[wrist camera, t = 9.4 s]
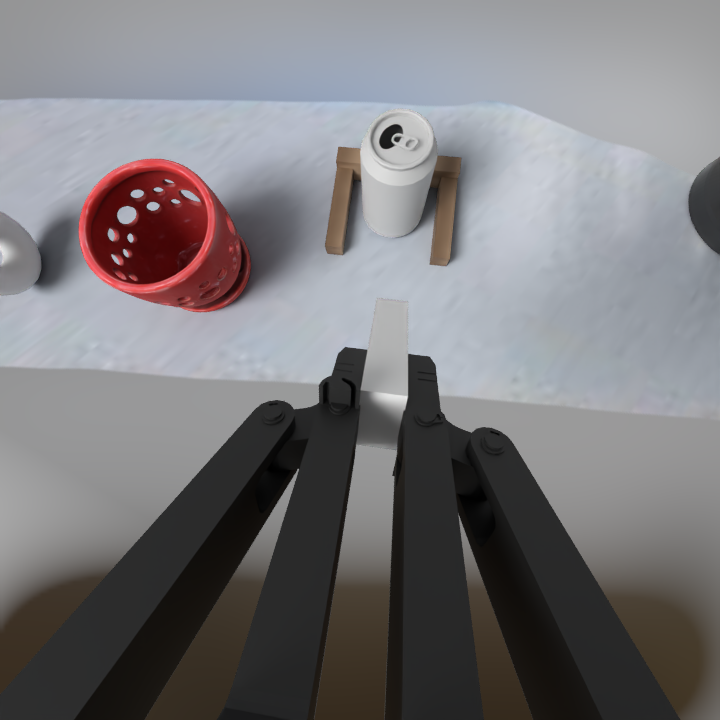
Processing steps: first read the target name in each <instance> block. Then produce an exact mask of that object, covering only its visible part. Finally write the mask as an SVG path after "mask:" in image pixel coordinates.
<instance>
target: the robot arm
mask: <svg viewBox="0 0 720 720" xmlns="http://www.w3.org/2000/svg"><path fill="white" fill-rule="evenodd" d="M689 211H690V215H691V219H692V222H693V224H694V226H695V228H696V230H697V232H698V233H699V235H700V236H701V238H702V239H703V240H704V241H705V242H706V243H707V244H708V245H709V246H710V247H711V248H712V249H713V250H714V251H716V252H717V253H718V254H720V157H719V158H718V159H716V160H715V161H713V162H712V163H710V164H709V165H708V166H707V167H705V168H704V169H703V170H702V171H701V172H700V173H699V175H698V176H697V177H696V179H695V181H694V183H693V185H692V187H691V190H690V195H689ZM356 445H363V446H370V447H378V448H385V449H392V450H396V449H397V457H396V462H395V466H394V471H393V476H395V478H394V502H393V503H394V504H393V526H392V551H391V575H390V600H389V623H388V647H387V671H386V695H385V720H484V717H483V709H482V701H481V694H480V687H479V686H480V685H479V678H478V669H477V662H476V653H475V645H474V637H473V630H472V621H471V613H470V606H469V597H468V589H467V581H466V573H465V565H464V557H463V549H462V541H461V533H460V525H459V517H458V514H459V516H460V519H461V522H462V524H463V527H464V530H465V533H466V536H467V538H468V541H469V544H470V546H471V549H472V552H473V555H474V557H475V560H476V563H477V566H478V569H479V571H480V574H481V577H482V580H483V583H484V585H485V588H486V591H487V594H488V596H489V599H490V602H491V605H492V607H493V610H494V613H495V616H496V618H497V621H498V624H499V627H500V629H501V632H502V635H503V638H504V640H505V643H506V646H507V649H508V651H509V654H510V657H511V660H512V663H513V665H514V668H515V671H516V673H517V676H518V679H519V682H520V684H521V687H522V690H523V693H524V696H525V698H526V701H527V704H528V707H529V709H530V712H531V715H532V718H533V720H680V718H679V717H678V715H677V714H676V712H675V710H674V709H673V707H672V705H671V704H670V702H669V700H668V699H667V697H666V695H665V694H664V692H663V690H662V689H661V687H660V685H659V684H658V682H657V681H656V679H655V677H654V676H653V674H652V672H651V671H650V669H649V667H648V666H647V664H646V662H645V661H644V659H643V657H642V656H641V654H640V652H639V651H638V649H637V648H636V646H635V644H634V643H633V641H632V639H631V638H630V636H629V634H628V633H627V631H626V629H625V628H624V626H623V624H622V623H621V621H620V619H619V618H618V616H617V614H616V613H615V611H614V610H613V608H612V606H611V604H610V603H609V601H608V600H607V598H606V596H605V595H604V593H603V591H602V590H601V588H600V586H599V585H598V583H597V581H596V580H595V578H594V576H593V575H592V573H591V571H590V570H589V568H588V567H587V565H586V563H585V562H584V560H583V558H582V556H581V555H580V553H579V552H578V550H577V548H576V547H575V545H574V543H573V542H572V540H571V538H570V537H569V535H568V533H567V532H566V530H565V528H564V527H563V525H562V523H561V522H560V520H559V519H558V517H557V515H556V513H555V512H554V510H553V509H552V507H551V505H550V504H549V502H548V500H547V499H546V497H545V495H544V494H543V492H542V490H541V489H540V487H539V486H538V484H537V482H536V480H535V479H534V477H533V476H532V474H531V472H530V470H529V469H528V467H527V466H526V464H525V462H524V461H523V459H522V457H521V456H520V454H519V452H518V451H517V449H516V448H515V446H514V444H513V443H512V441H511V440H510V439H509V438H508V437H507V436H506V435H505V434H503V433H502V432H500V431H498V430H495V429H493V428H486V427H482V428H478V429H476V430H475V431H474V432H472V433H470V432H468V431H465V430H463V429H460V428H458V427H456V426H454V425H452V424H451V423H450V422H448V421H447V420H446V418H445V415H444V414H443V413H442V412H441V409H440V401H439V392H438V384H437V375H436V366H435V364H434V362H433V361H432V359H431V358H430V357H428V356H420V355H412V354H408V301H401V300H392V299H383V298H377V300H376V305H375V311H374V317H373V322H372V328H371V334H370V339H369V345H368V350H364V349H356V348H348V347H345V348H344V349H343V350H342V351H341V352H340V353H338V356H337V359H336V364H335V366H334V370H333V373H332V376H329V377H327V378H325V379H324V380H322V382H321V383H320V385H319V403H318V404H317V405H315V406H312V407H308V408H303V409H295V410H294V409H293V407H292V406H291V405H290V404H288V403H286V402H284V401H278V400H275V401H269V402H266V403H263V404H261V405H260V406H259V407H257V408H256V409H255V410H254V411H253V412H252V414H251V415H250V416H249V417H248V418H247V419H246V420H245V421H244V422H243V424H242V425H241V426H240V427H239V428H238V429H237V430H236V431H235V432H234V434H233V435H232V436H231V437H230V438H229V439H228V440H227V442H226V443H225V444H224V445H223V446H222V447H221V448H220V449H219V450H218V451H217V453H216V454H215V455H214V456H213V457H212V458H211V459H210V461H209V462H208V463H207V464H206V465H205V466H204V467H203V468H202V469H201V471H200V472H199V473H198V474H197V475H196V476H195V477H194V478H193V479H192V481H191V482H190V483H189V484H188V485H187V486H186V487H185V488H184V490H183V491H182V492H181V493H180V494H179V495H178V496H177V497H176V498H175V500H174V501H173V502H172V503H171V504H170V505H169V506H168V507H167V509H166V510H165V511H164V512H163V513H162V514H161V515H160V516H159V517H158V519H157V520H156V521H155V522H154V523H153V524H152V525H151V527H150V528H149V529H148V530H147V531H146V532H145V533H144V534H143V536H142V537H141V538H140V539H139V540H138V541H137V542H136V543H135V544H134V546H133V547H132V548H131V549H130V550H129V551H128V552H127V553H126V554H125V555H124V557H123V558H122V559H121V560H120V561H119V562H118V564H116V566H115V567H114V568H113V569H112V570H111V571H110V572H109V573H108V575H107V576H106V577H105V578H104V579H103V580H102V581H101V582H100V584H99V585H98V586H97V587H96V588H95V589H94V590H93V591H92V593H91V594H90V595H89V596H88V597H87V598H86V599H85V600H84V601H83V602H82V604H81V605H80V606H79V607H78V608H77V609H76V611H74V613H73V614H72V615H71V616H70V617H69V618H68V619H67V620H66V621H65V623H64V624H63V625H62V626H61V627H60V628H59V629H58V630H57V632H56V633H55V634H54V635H53V636H52V637H51V638H50V639H49V641H48V642H47V643H46V644H45V645H44V646H43V647H42V648H41V649H40V651H39V652H38V653H37V654H36V655H35V656H34V657H33V658H32V660H31V661H30V662H29V663H28V664H27V665H26V666H25V668H23V670H22V671H21V672H20V673H19V674H18V675H17V676H16V677H15V679H14V680H13V681H12V682H11V683H10V684H9V685H8V686H7V688H6V689H5V690H4V691H3V692H2V693H1V694H0V720H145V718H146V717H147V715H148V713H149V712H150V710H151V708H152V707H153V705H154V703H155V702H156V700H157V699H158V697H159V695H160V694H161V692H162V690H163V689H164V687H165V685H166V684H167V682H168V681H169V679H170V677H171V676H172V674H173V672H174V671H175V669H176V668H177V666H178V664H179V662H180V661H181V659H182V658H183V656H184V654H185V653H186V651H187V650H188V648H189V646H190V645H191V643H192V641H193V640H194V638H195V636H196V635H197V633H198V631H199V630H200V628H201V627H202V625H203V623H204V622H205V620H206V618H207V617H208V615H209V614H210V612H211V610H212V609H213V607H214V605H215V604H216V602H217V600H218V599H219V597H220V596H221V594H222V592H223V591H224V589H225V587H226V586H227V584H228V583H229V581H230V579H231V578H232V576H233V574H234V573H235V571H236V569H237V568H238V566H239V565H240V563H241V561H242V559H243V558H244V556H245V555H246V553H247V551H248V550H249V548H250V546H251V545H252V543H253V542H254V540H255V538H256V537H257V535H258V533H259V532H260V530H261V529H262V527H263V525H264V524H265V522H266V520H267V519H268V517H269V516H270V514H271V512H272V510H273V509H274V507H275V505H276V504H277V502H278V500H279V499H280V497H281V496H282V494H283V493H284V491H285V489H286V488H287V486H288V484H289V483H290V481H291V480H292V478H293V476H294V474H295V473H296V471H297V469H299V472H298V475H297V479H296V481H295V485H294V488H293V491H292V494H291V497H290V501H289V504H288V507H287V511H286V514H285V517H284V520H283V523H282V527H281V530H280V533H279V536H278V540H277V543H276V546H275V549H274V553H273V556H272V559H271V562H270V566H269V569H268V572H267V575H266V579H265V582H264V585H263V588H262V591H261V595H260V598H259V601H258V604H257V608H256V611H255V614H254V617H253V620H252V624H251V627H250V631H249V634H248V637H247V640H246V643H245V646H244V650H243V653H242V656H241V660H240V663H239V666H238V669H237V672H236V675H235V679H234V682H233V685H232V688H231V691H230V694H229V697H228V700H227V702H226V704H225V707H224V709H223V710H222V712H221V714H220V715H219V717H218V719H217V720H314V716H315V710H316V703H317V697H318V691H319V684H320V677H321V671H322V664H323V658H324V652H325V646H326V639H327V632H328V626H329V620H330V613H331V607H332V600H333V594H334V588H335V581H336V575H337V568H338V562H339V555H340V549H341V542H342V536H343V529H344V523H345V517H346V510H347V504H348V497H349V491H350V484H351V478H352V471H353V465H354V459H355V449H356Z"/></svg>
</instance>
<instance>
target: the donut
mask: <svg viewBox="0 0 720 720" xmlns="http://www.w3.org/2000/svg"><path fill="white" fill-rule="evenodd" d="M0 249H1V252H2V254H3V261H2V264H1V265H0V296H6V295H14V294H19V293H21V292H23V291H25V290H27V289H29V288H31V287H32V286H33V285H34V283H35V282H36V281H37V280H38V279H39V275H40V272H41V256H40V253H39V250H38V247H37V245H36V243H35V242H34V240H33V239H32V237H31V236H30V234H29V233H28V232H27V231H26V230H25V229H24V228H23V227H22V226H21V225H20V224H19V223H18V222H17V221H15V220H14V219H12V218H11V217H9V216H8V215H6V214H5V213H2V212H0Z"/></svg>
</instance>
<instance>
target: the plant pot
mask: <svg viewBox="0 0 720 720" xmlns="http://www.w3.org/2000/svg"><path fill="white" fill-rule="evenodd" d="M165 179H167V180H171V181H173V182H174V183H168V182H166V181H165ZM156 187H159V188H162V189H163V191H162V192H156V191H154V190H153V189H154V188H156ZM137 189H139V190H142V191H143V192H144V195H143V196H142V197H140V198H133V197H132V196H131V195H130V194H131V192H132V191H133V190H137ZM181 190H188V191H190V192H192V193H193V194H194V195H196V196H197V197H198V198H199V199H200V201H201V202H197V201H193V200H191V199H189V198H187V197H185V196H184V195H183V194H182V193H181ZM172 199H177V200H179V201H180V202H181V203H179V204H175V203H173V202H171V200H172ZM150 202H156V203H158V204H159V205H160V207H159V208H158V210H155V211H151V210H149V209H147V204H148V203H150ZM124 206H130V207H133V208H135V210H136V213H137V214H136V218H135V219H134V221H132V222H131V223H129V224H122V223H120V222H119V220H118V218H117V212H118V210H119V209H120V208H122V207H124ZM109 228H111V229H112V230H113V231H114V233H115V239H114V241H111V240H110V239H109V237H108V230H109ZM129 233H131V234H132V235H133V238H134V240H133V242H132V243H130V242H129V241H128V239H127V236H128V234H129ZM79 240H80V246H81V250H82V253H83V256H84V258H85V260H86V262H87V264H88V266H89V267H90V269H91V270H92V271H93V272H94V273H95V274H96V275H97V276H98V277H99V278H100V279H101V280H102V281H104V282H105V283H107V284H108V285H110V286H111V287H113V288H115V289H118V290H120V291H122V292H125V293H127V294H129V295H132V296H134V297H137V298H140V299H143V300H146V301H149V302H153V303H157V304H162V305H168V306H174V307H181V308H183V309H185V310H189V311H193V312H210V311H215V310H218V309H221V308H223V307H225V306H227V305H228V304H230V303H231V302H233V301H234V300H235V299H236V298H237V297H238V296H239V295H240V294H241V292H242V291H243V290H244V288H245V286H246V284H247V282H248V279H249V275H250V270H251V261H250V255H249V251H248V249H247V246H246V244H245V242H244V241H243V239H242V238H241V237H240V235H239V234H238V233H237V231H236V228H235V226H234V223H233V222H232V220H231V218H230V216H229V214H228V212H227V211H226V209H225V208H224V206H223V205H222V204H221V202H220V201H219V199H218V198H217V196H216V195H215V194H214V193H213V191H212V190H211V189H210V188H209V187H208V186H207V184H206V183H205V182H204V181H203V180H202V179H201V178H200V177H199V176H198V175H197V174H195V173H194V172H193V171H191V170H190V169H188V168H187V167H185V166H183V165H181V164H179V163H176V162H173V161H169V160H164V159H144V160H138V161H134V162H131V163H128V164H125V165H123V166H120V167H118V168H117V169H115V170H113V171H112V172H110V173H109V174H107V175H106V176H105V177H104V178H103V179H101V181H100V182H99V183H98V184H97V185H96V186H95V187H94V188H93V190H92V191H91V193H90V194H89V196H88V197H87V199H86V201H85V204H84V206H83V209H82V212H81V216H80V221H79ZM123 249H125V250H127V252H128V254H129V257H128V258H127V257H126V256H125V255H124V254H123ZM111 254H113V255H115V256H116V257H117V259H118V260H119V264H120V265H118V264H117V263H115V262H114V260H113V259H112V257H111ZM129 276H130V277H131V278H132V279H131V278H130V277H129Z"/></svg>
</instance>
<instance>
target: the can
mask: <svg viewBox="0 0 720 720" xmlns="http://www.w3.org/2000/svg"><path fill="white" fill-rule="evenodd" d="M437 154H438V147H437V142H436V138H435V137H434V133H433V128H432V126H431V125H430V123H429V122H428V120H427V119H426V118H425V117H423V116H422V115H421V114H419V113H417V112H415V111H412V110H410V109H394V110H389V111H387V112H385V113H383V114H381V115H379V116H378V117H377V118H376V119H375V120H374V121H373V122H372V124H371V126H370V127H369V129H368V131H367V133H366V135H365V137H364V139H363V140H362V144H361V150H360V160H361V183H362V206H363V215H364V220H365V222H366V223H367V225H368V227H369V228H370V229H371V230H373V231H374V232H375V233H376V234H379V235H381V236H383V237H390V238H395V237H401V236H404V235H406V234H408V233H410V232H411V231H412V230H413V229H414V228H415V227H416V226H417V225H418V223H419V221H420V219H421V217H422V213H423V209H424V206H425V202H426V198H427V195H428V191H429V187H430V183H431V180H432V176H433V172H434V168H435V165H436V161H437Z"/></svg>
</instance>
